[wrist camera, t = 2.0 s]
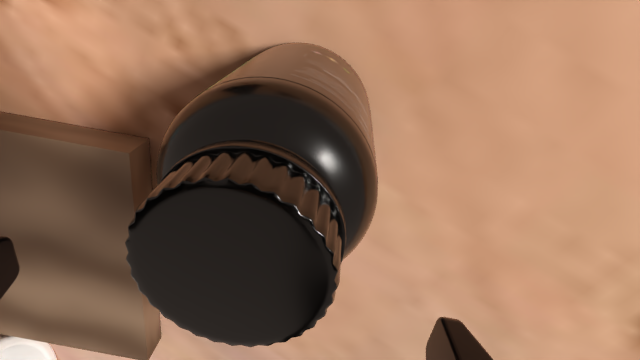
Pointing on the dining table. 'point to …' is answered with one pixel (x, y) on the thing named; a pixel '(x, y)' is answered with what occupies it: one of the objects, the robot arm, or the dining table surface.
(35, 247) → the walnut board
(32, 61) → the dining table surface
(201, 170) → the supplement bottle
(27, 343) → the mug
